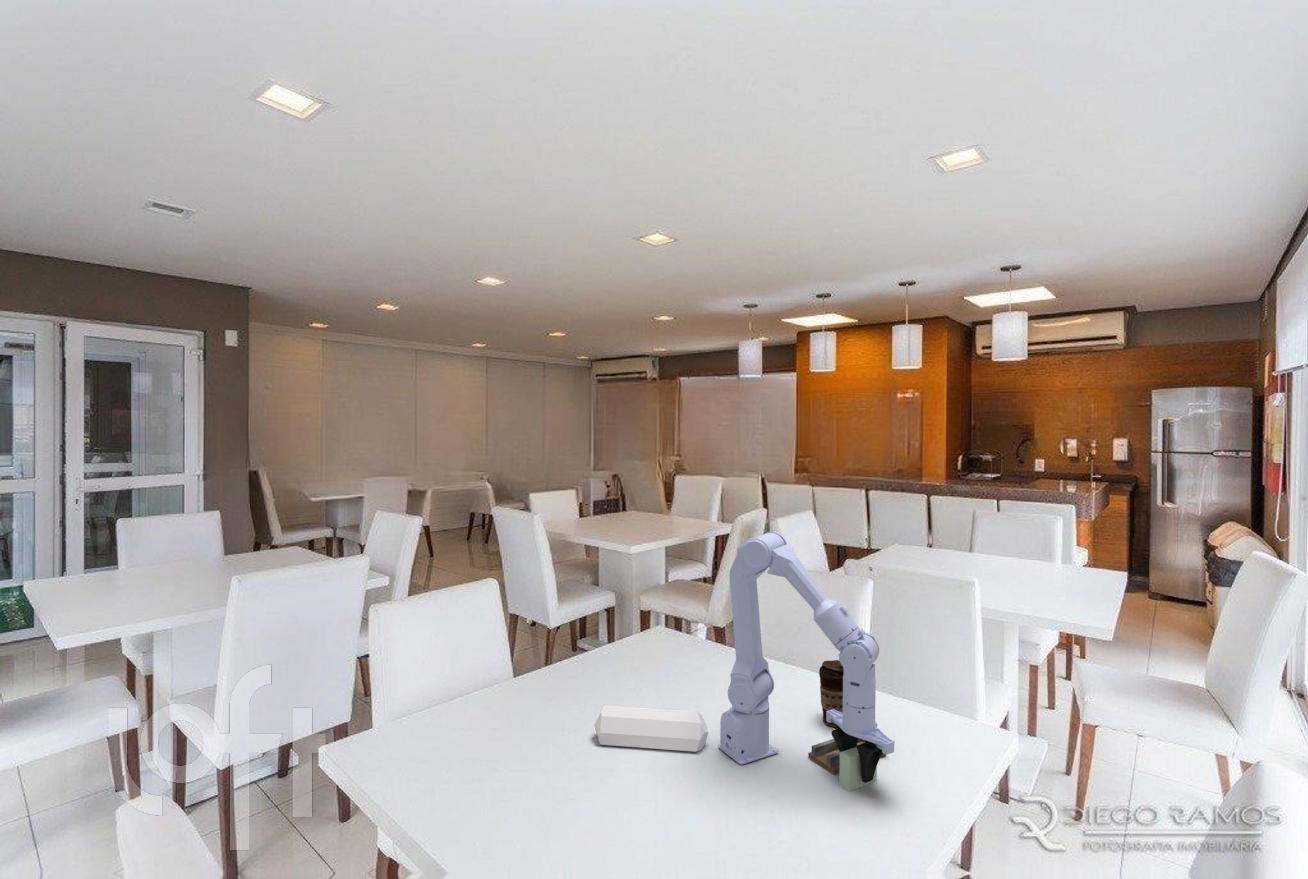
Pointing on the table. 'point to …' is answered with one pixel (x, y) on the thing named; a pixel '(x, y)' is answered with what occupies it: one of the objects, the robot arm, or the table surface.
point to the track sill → (829, 755)
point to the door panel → (851, 770)
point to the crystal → (651, 728)
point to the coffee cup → (831, 687)
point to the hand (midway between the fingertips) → (858, 774)
